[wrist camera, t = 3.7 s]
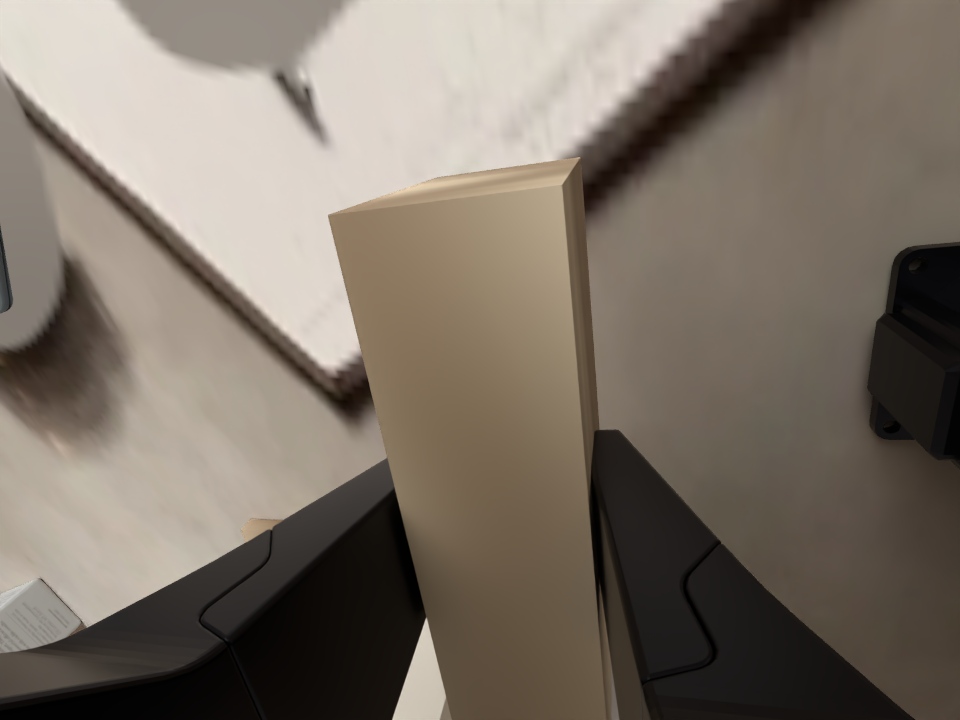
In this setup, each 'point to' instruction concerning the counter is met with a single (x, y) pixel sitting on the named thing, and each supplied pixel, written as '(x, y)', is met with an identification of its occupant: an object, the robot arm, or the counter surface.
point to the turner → (490, 427)
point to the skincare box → (33, 617)
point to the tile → (423, 685)
